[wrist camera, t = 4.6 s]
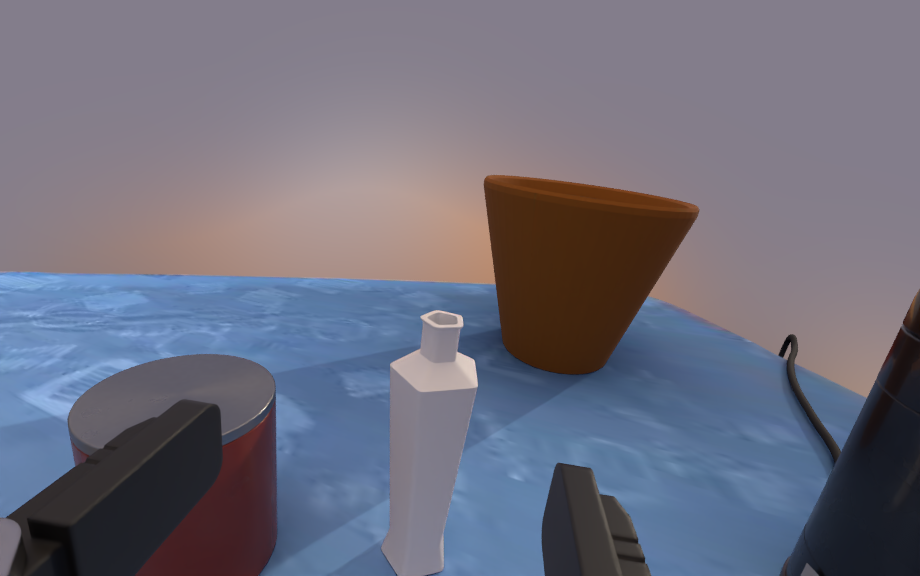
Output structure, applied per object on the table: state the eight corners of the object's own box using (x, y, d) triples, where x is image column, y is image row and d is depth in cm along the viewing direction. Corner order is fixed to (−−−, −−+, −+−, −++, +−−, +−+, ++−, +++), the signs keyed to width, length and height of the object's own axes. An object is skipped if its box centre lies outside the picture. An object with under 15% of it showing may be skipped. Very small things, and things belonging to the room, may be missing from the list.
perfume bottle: (361, 571, 24) (379, 325, 20) (393, 512, 28) (414, 297, 24) (438, 601, 23) (477, 349, 19) (460, 535, 27) (497, 315, 23)
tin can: (221, 472, 30) (213, 340, 27) (307, 535, 26) (310, 389, 23) (67, 563, 23) (32, 398, 20) (155, 668, 19) (128, 484, 16)
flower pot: (491, 299, 71) (511, 173, 64) (646, 335, 64) (685, 198, 58) (434, 358, 49) (455, 177, 43) (657, 422, 42) (721, 218, 36)
